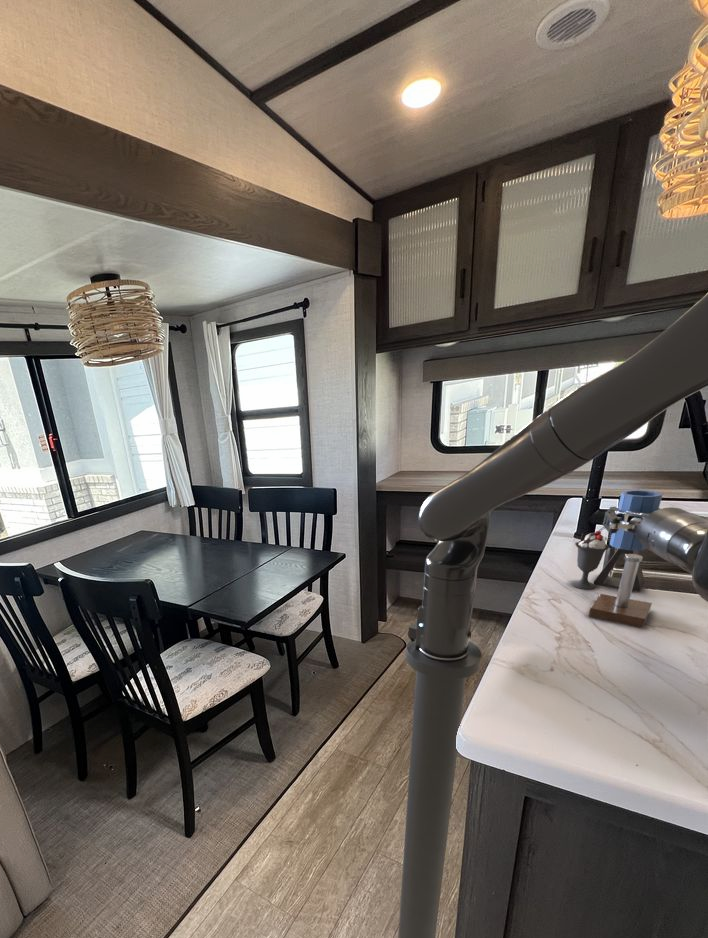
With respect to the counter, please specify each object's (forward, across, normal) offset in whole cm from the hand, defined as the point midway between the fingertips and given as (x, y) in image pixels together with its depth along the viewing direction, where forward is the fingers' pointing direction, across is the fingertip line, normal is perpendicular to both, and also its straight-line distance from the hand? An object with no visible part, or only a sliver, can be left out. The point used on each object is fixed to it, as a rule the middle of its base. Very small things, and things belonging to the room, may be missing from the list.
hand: (630, 511), depth 89 cm
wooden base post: (+1, -3, +22) cm, 22 cm away
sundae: (+17, -1, +22) cm, 28 cm away
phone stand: (+18, -9, +22) cm, 30 cm away
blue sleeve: (-2, 0, +6) cm, 6 cm away
